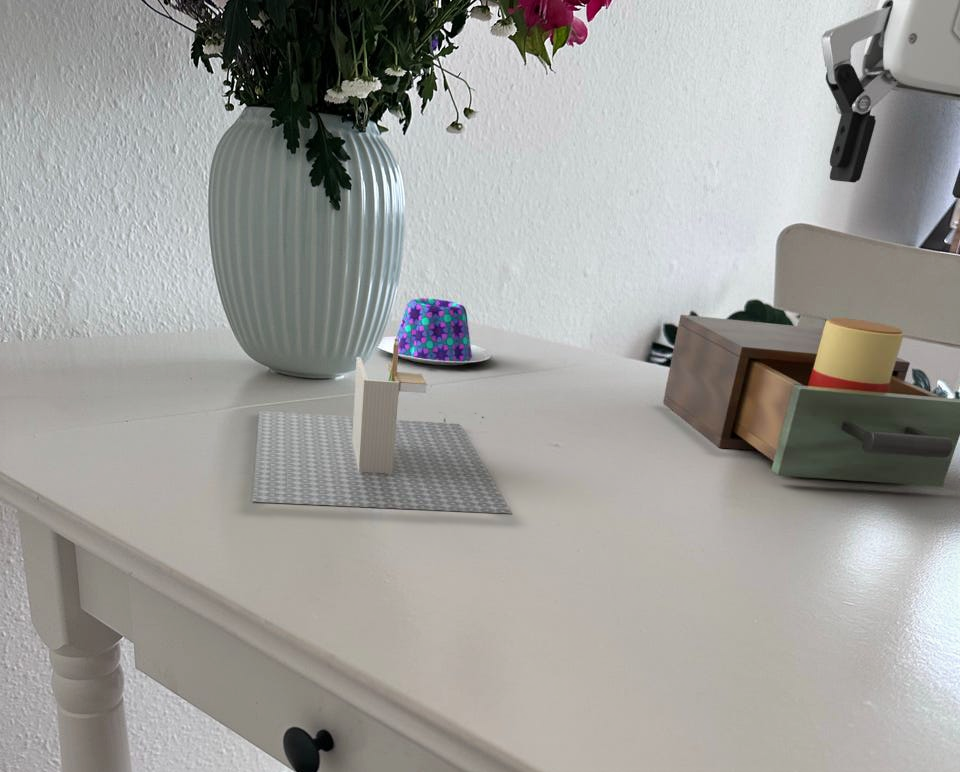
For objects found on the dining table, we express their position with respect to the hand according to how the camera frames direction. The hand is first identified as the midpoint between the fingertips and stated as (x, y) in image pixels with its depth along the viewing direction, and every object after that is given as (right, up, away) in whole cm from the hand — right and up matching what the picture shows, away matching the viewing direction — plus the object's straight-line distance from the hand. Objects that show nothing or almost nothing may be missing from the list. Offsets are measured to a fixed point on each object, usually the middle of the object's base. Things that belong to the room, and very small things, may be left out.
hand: (906, 190), depth 67 cm
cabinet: (-4, -13, +19) cm, 23 cm away
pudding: (-35, -2, +31) cm, 47 cm away
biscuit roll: (-2, -16, +8) cm, 18 cm away
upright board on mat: (-37, -19, -1) cm, 42 cm away
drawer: (-2, -18, +8) cm, 19 cm away
